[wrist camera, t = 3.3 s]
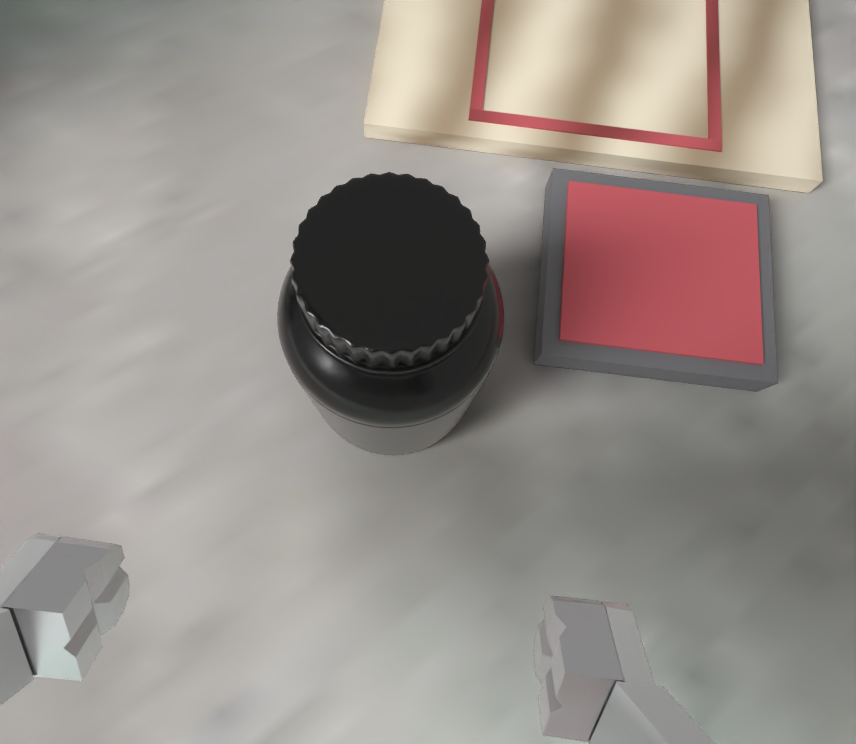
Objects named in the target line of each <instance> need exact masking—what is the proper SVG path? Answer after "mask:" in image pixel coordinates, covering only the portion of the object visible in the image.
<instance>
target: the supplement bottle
mask: <svg viewBox="0 0 856 744" xmlns="http://www.w3.org/2000/svg"><path fill="white" fill-rule="evenodd" d="M485 249H486V241H485V240H484V238H483V237H482V236H481V234H480V225H479V224H478V223H477V222H476V221H474V220H473V219H472V214H471V211H470V210H469V209H468V208H467V207H464V206H463V205H462V204H461V203H460V200H459V199H458V197H456V196H454V195H452V194H449V193H448V192H447V191H446V190H445V189H444V188H443V187H442V186H439V185H434V184H432V183H431V182H430V181H428V180H427V179H423V178H415V177H413V176H411V175H409V174H401V175H397V174H394V173H391V172H388V173H384V174H381V175H377V174H369V175H367V176H365V177H363V178H352V179H351V180H350V181H348V182H347V183H346V184H344V185H338V186H336V187H335V188H334V189H333V190H332V191H331V193H329V194H327V195H324V196H322V197H321V198H320V199H319V201H318V203H317V205H316V206H314V207H312V208H311V209H309V210H308V213H307V217H306V219H305V220H304V221H303V222H302V223H301V224H300V225H299V234H298V236H297V237H296V238H295V240H294V241H293V250H294V253H293V255H292V257H291V260H290V264H291V267H290V269H289V271H288V273H287V275H286V277H285V280H284V282H283V285H282V289H281V292H280V297H279V302H278V313H277V321H278V332H279V338H280V342H281V346H282V349H283V352H284V355H285V358H286V360H287V362H288V364H289V366H290V368H291V370H292V372H293V374H294V375H295V377H296V379H297V380H298V382H299V383H300V385H301V386H302V388H303V389H304V390H305V392H306V393H307V395H308V396H309V398H310V399H311V400H312V402H313V403H314V405H315V406H316V408H317V409H318V410H319V412H320V413H321V415H322V416H323V418H324V419H325V420H326V422H327V423H328V424H329V425H330V426H331V427H332V429H333V430H334V431H335V432H336V433H337V434H339V435H340V436H341V437H342V438H343V439H345V440H346V441H348V442H349V443H351V444H353V445H354V446H356V447H358V448H361V449H363V450H366V451H369V452H372V453H376V454H383V455H403V454H409V453H413V452H417V451H420V450H422V449H425V448H427V447H429V446H431V445H433V444H435V443H436V442H438V441H439V440H441V439H442V438H443V437H445V436H446V435H447V434H448V433H449V432H450V431H451V430H452V429H453V428H454V427H455V426H456V425H457V423H458V422H459V421H460V419H461V418H462V416H463V415H464V413H465V412H466V410H467V408H468V407H469V405H470V404H471V402H472V400H473V399H474V397H475V395H476V394H477V392H478V390H479V389H480V387H481V386H482V384H483V382H484V381H485V379H486V377H487V375H488V374H489V372H490V370H491V368H492V366H493V364H494V361H495V359H496V357H497V354H498V351H499V348H500V344H501V340H502V335H503V327H504V309H503V301H502V296H501V292H500V288H499V285H498V282H497V279H496V277H495V275H494V273H493V270H492V269H491V267H490V265H489V259H488V256H487V254H486V253H485Z"/></svg>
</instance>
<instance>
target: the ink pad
mask: <svg viewBox="0 0 856 744" xmlns="http://www.w3.org/2000/svg"><path fill="white" fill-rule="evenodd" d="M534 364H535V365H543V366H552V367H560V368H568V369H576V370H585V371H593V372H601V373H609V374H617V375H626V376H634V377H642V378H650V379H659V380H667V381H675V382H683V383H691V384H700V385H708V386H716V387H724V388H733V389H741V390H749V391H759V390H762V389H764V388H767V387H769V386H772V385H774V384H777V383H778V376H777V356H776V336H775V316H774V296H773V276H772V256H771V236H770V216H769V196H768V195H764V194H756V193H748V192H740V191H732V190H724V189H716V188H708V187H700V186H692V185H684V184H676V183H668V182H660V181H652V180H644V179H636V178H628V177H620V176H612V175H604V174H596V173H588V172H580V171H572V170H564V169H556V168H553V170H552V173H551V175H550V177H549V180H548V182H547V185H546V188H545V203H544V218H543V232H542V247H541V262H540V277H539V292H538V307H537V321H536V336H535V351H534Z"/></svg>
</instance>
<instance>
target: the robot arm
mask: <svg viewBox="0 0 856 744" xmlns="http://www.w3.org/2000/svg"><path fill="white" fill-rule="evenodd" d="M124 558H125V557H124V554H123V550H122V546H121V545H117V544H112V543H105V542H98V541H91V540H85V539H78V538H71V537H63V536H55V535H48V534H41V533H37V534H36V535H34V536H32V537H30V538H29V539H27V541H26V542H25V543H24V544H23V545H22V546H21V547H20V548H19V550H18V551H17V552H16V553H15V554H14V555H13V556H12V557H11V559H10V560H9V561H8V562H7V563H6V564H5V565H4V566H3V568H2V569H1V570H0V705H2V704H3V703H4V702H6V701H7V700H8V699H9V698H11V697H12V696H13V695H15V694H16V693H17V692H19V691H20V690H21V689H22V688H24V687H25V686H26V685H28V684H29V683H30V682H32V681H33V680H34V677H44V678H55V679H67V680H78V681H83V679H84V677H85V676H86V674H87V672H88V671H89V669H90V667H91V666H92V664H93V662H94V661H95V659H96V657H97V656H98V654H99V653H100V651H101V649H102V648H103V646H102V640H101V635H102V634H104V633H105V632H107V631H108V630H110V629H111V628H113V627H114V626H116V624H117V622H118V621H119V619H120V617H121V615H122V614H123V612H124V609H125V606H126V603H127V600H128V597H129V586H130V583H129V578H128V574H127V573H126V572H125V571H124V570H123V569H122V568H121V567H120V564H121V563H122V561H123V560H124ZM543 610H544V617H545V620H544V621H542V622H541V623H539V624H538V627H537V631H536V635H535V643H534V667H535V676H536V677H537V678H538V680H539V681H540V682H541V684H542V688H541V691H540V694H539V697H538V703H539V711H540V719H541V727H542V735H544V736H551V737H558V738H565V739H571V740H578V741H585V742H589V744H715V742H714V741H713V740H712V739H711V738H710V737H709V736H708V735H707V734H706V733H705V732H704V731H703V729H702V728H701V727H700V726H699V725H698V724H697V723H696V722H695V721H694V720H693V719H692V717H691V716H690V715H689V714H688V713H687V712H686V711H685V710H684V709H683V708H682V707H681V706H680V704H679V703H678V702H677V701H676V700H675V699H674V698H673V697H672V696H671V695H670V694H669V692H668V691H667V690H666V689H665V688H664V687H660V686H655V683H654V680H653V677H652V673H651V670H650V667H649V664H648V660H647V657H646V654H645V651H644V647H643V644H642V641H641V638H640V634H639V631H638V628H637V624H636V621H635V618H634V615H633V611H632V609H631V608H630V607H629V605H627V604H619V603H611V602H600V601H597V600H588V599H578V598H569V597H560V596H550V595H549V597H548V598H547V599H546V602H545V605H544V608H543Z"/></svg>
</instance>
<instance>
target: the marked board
mask: <svg viewBox="0 0 856 744" xmlns="http://www.w3.org/2000/svg"><path fill="white" fill-rule="evenodd" d="M364 133H365V137H367V138H375V139H383V140H391V141H399V142H407V143H415V144H423V145H431V146H439V147H447V148H455V149H463V150H471V151H478V152H486V153H494V154H502V155H510V156H518V157H526V158H534V159H542V160H550V161H558V162H566V163H574V164H582V165H590V166H598V167H606V168H614V169H622V170H630V171H638V172H646V173H654V174H662V175H670V176H678V177H686V178H694V179H702V180H709V181H717V182H725V183H733V184H741V185H749V186H757V187H765V188H773V189H781V190H789V191H797V192H805V193H809V192H811V191H812V190H813V189H814V188H815V187H817V186H818V185H819V184H820V183H821V182H822V181H823V177H822V164H821V151H820V139H819V126H818V114H817V101H816V88H815V76H814V63H813V50H812V38H811V25H810V13H809V0H384V6H383V12H382V18H381V23H380V29H379V35H378V41H377V47H376V53H375V59H374V65H373V71H372V77H371V82H370V88H369V94H368V100H367V106H366V112H365V118H364Z"/></svg>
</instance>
